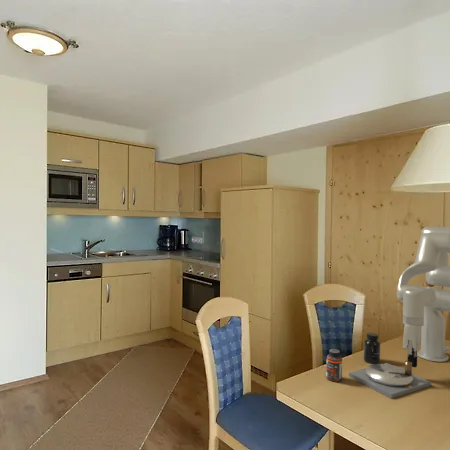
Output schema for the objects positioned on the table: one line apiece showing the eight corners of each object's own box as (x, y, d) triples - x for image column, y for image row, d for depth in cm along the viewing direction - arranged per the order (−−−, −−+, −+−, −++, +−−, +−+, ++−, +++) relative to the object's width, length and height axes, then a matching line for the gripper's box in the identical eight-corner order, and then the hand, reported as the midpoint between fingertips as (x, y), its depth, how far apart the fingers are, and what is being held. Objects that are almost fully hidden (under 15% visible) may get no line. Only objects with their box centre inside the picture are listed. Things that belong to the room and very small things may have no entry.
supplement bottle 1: (324, 380, 145) (325, 351, 144) (327, 374, 150) (328, 346, 149) (340, 383, 142) (340, 354, 141) (343, 377, 147) (343, 349, 147)
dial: (369, 383, 138) (369, 366, 138) (362, 365, 154) (363, 350, 154) (418, 388, 134) (419, 371, 134) (406, 369, 150) (407, 354, 150)
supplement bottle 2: (377, 365, 159) (378, 338, 159) (361, 361, 163) (362, 334, 163) (381, 360, 164) (382, 333, 164) (366, 356, 169) (366, 330, 168)
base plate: (386, 366, 158) (386, 362, 158) (430, 385, 140) (430, 381, 140) (348, 376, 148) (348, 372, 148) (391, 398, 130) (391, 394, 130)
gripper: (407, 314, 154) (406, 358, 155) (398, 322, 142) (397, 369, 143) (427, 317, 149) (426, 362, 150) (419, 326, 138) (418, 374, 138)
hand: (412, 365), depth 146 cm, fingers closed
